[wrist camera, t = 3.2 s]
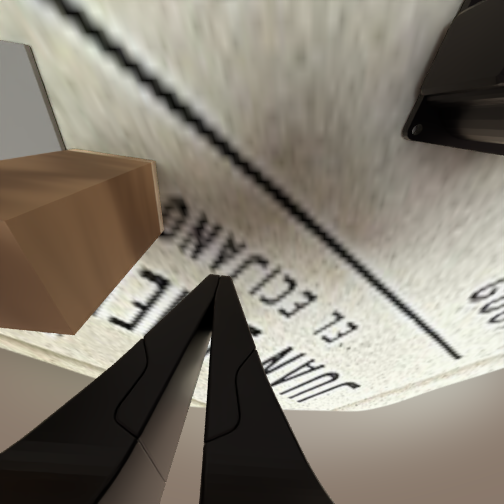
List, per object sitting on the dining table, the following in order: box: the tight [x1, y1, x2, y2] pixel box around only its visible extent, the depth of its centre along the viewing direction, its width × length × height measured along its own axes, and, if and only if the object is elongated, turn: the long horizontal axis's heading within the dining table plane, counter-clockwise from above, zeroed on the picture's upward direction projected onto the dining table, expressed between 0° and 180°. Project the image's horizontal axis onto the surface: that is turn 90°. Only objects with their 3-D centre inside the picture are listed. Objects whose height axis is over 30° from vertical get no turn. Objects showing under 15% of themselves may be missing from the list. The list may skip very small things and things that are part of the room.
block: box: [0, 149, 164, 335], centre depth 10 cm, size 5×5×9 cm
